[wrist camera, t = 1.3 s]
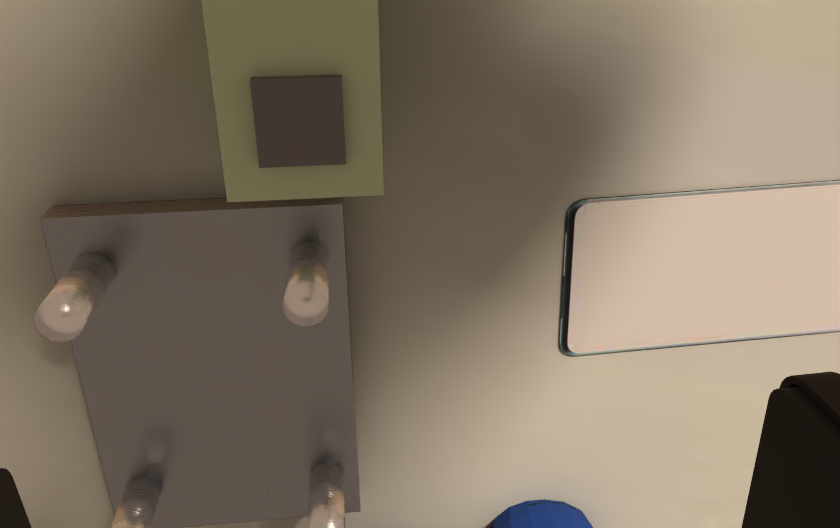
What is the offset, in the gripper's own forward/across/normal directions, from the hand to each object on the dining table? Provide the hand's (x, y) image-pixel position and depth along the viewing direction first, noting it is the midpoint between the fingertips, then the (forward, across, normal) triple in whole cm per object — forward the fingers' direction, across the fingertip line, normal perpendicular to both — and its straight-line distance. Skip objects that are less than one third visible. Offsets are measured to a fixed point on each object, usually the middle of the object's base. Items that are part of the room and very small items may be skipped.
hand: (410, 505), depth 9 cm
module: (+18, +2, -3) cm, 18 cm away
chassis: (+18, +6, +9) cm, 21 cm away
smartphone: (+18, -15, +7) cm, 25 cm away
